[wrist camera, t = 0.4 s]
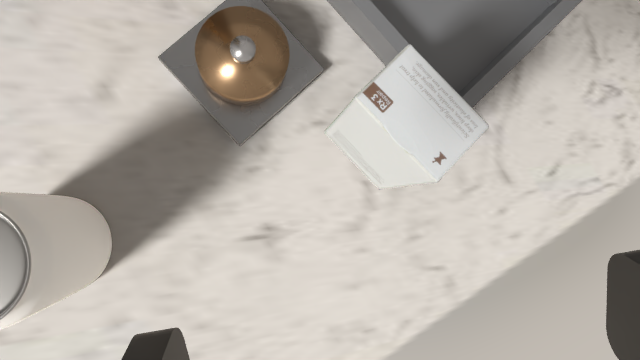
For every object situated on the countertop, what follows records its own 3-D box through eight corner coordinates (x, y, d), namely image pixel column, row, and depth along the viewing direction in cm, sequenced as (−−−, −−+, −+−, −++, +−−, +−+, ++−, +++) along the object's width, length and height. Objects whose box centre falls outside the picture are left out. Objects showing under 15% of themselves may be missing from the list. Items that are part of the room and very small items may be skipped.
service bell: (160, 61, 34) (148, 40, 30) (245, -11, 35) (246, -41, 31) (240, 146, 35) (239, 138, 30) (321, 72, 36) (332, 54, 31)
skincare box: (417, 151, 37) (501, 125, 25) (376, 193, 36) (441, 188, 24) (359, 91, 36) (416, 35, 24) (316, 133, 35) (354, 97, 24)
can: (94, 181, 33) (10, 168, 21) (128, 271, 33) (63, 309, 21) (-5, 216, 32) (-152, 222, 20) (30, 309, 32) (-96, 370, 20)
